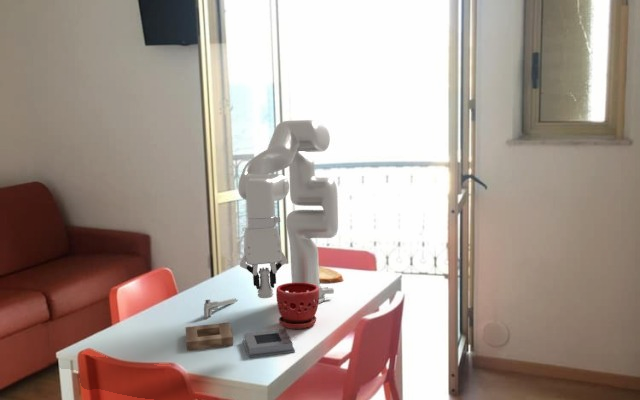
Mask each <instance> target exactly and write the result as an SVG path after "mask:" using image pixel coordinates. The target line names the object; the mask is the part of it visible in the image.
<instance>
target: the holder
mask: <svg viewBox="0 0 640 400" xmlns="http://www.w3.org/2000/svg"><path fill="white" fill-rule="evenodd" d="M243 334H244V339H243V340H242V342H243V346H244V350H245V352H246V356H247V359H252V358H258V357H267V356H275V355H283V354H290V353H291V354H293V353H296V350H295V348H294V346H293V341H292V340H291V338H290V336H289V334H288V332H287V329H285V328H284V329H274V330H273V329H272V330H265V331H257V332H248V333H243Z"/></svg>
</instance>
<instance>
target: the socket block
mask: <svg viewBox="0 0 640 400" xmlns="http://www.w3.org/2000/svg"><path fill="white" fill-rule="evenodd" d="M184 329H185V338H186V339H185V340H186V349H187V351H196V350H205V349H212V348H220V347H229V346H234V337H233V333H232V330H231V325H230V322H223V323H221V322H220V323H213V324H204V325H203V324H202V325H194V326H185V328H184Z"/></svg>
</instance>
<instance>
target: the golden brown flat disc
mask: <svg viewBox="0 0 640 400" xmlns="http://www.w3.org/2000/svg"><path fill="white" fill-rule="evenodd" d="M319 282H320V284H338V283H342V282H344V278H343V276H342V274H341V273H340V272H338V271H335V270H333V269H331V268H328V267H324V266H321V265H319Z"/></svg>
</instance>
